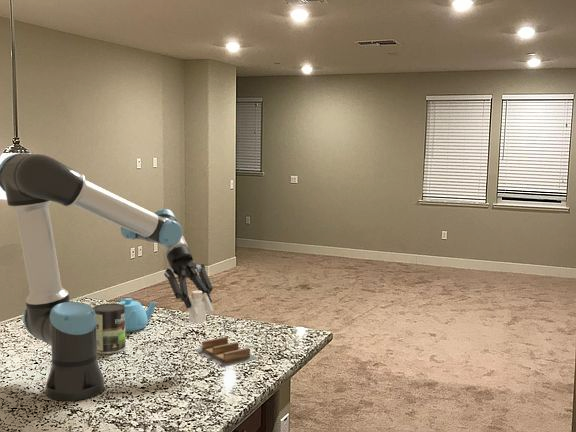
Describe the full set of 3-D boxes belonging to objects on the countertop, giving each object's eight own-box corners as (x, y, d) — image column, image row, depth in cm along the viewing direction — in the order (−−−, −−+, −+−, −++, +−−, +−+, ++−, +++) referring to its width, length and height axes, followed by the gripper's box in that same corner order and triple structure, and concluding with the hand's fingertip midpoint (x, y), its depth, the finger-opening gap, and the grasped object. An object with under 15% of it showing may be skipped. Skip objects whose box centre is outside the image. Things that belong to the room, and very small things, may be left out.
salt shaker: (197, 319, 194) (197, 289, 193) (206, 321, 192) (206, 291, 190) (188, 322, 191) (187, 291, 190) (197, 324, 189) (196, 294, 187)
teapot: (123, 319, 239) (122, 291, 238) (157, 323, 234) (157, 295, 233) (98, 330, 225) (97, 301, 223) (134, 335, 220) (134, 305, 218)
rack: (202, 350, 204) (202, 341, 203) (225, 345, 209) (225, 336, 209) (225, 363, 192) (225, 354, 192) (249, 357, 197) (249, 348, 197)
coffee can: (131, 345, 209) (130, 304, 207) (116, 355, 199) (116, 312, 197) (102, 342, 211) (102, 302, 209) (87, 352, 201) (86, 310, 199)
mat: (259, 359, 197) (259, 358, 197) (223, 368, 189) (223, 367, 189) (227, 343, 212) (227, 342, 212) (193, 350, 204) (193, 349, 204)
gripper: (197, 255, 207) (224, 316, 196) (148, 262, 196) (173, 326, 185) (205, 242, 202) (233, 303, 191) (155, 248, 191) (181, 312, 180)
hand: (203, 314), depth 188 cm, fingers closed on salt shaker, 4 cm apart
